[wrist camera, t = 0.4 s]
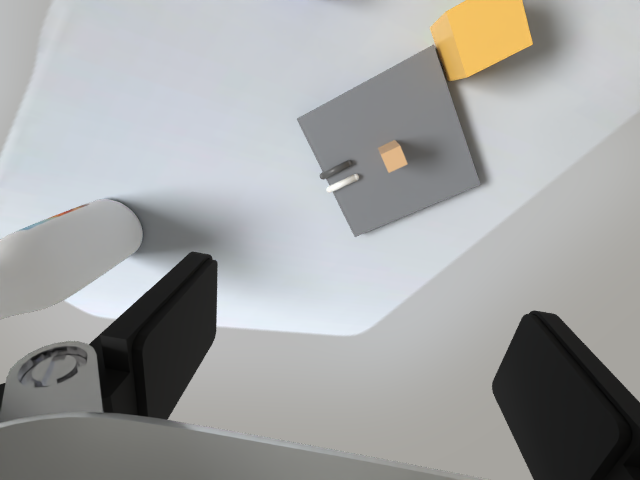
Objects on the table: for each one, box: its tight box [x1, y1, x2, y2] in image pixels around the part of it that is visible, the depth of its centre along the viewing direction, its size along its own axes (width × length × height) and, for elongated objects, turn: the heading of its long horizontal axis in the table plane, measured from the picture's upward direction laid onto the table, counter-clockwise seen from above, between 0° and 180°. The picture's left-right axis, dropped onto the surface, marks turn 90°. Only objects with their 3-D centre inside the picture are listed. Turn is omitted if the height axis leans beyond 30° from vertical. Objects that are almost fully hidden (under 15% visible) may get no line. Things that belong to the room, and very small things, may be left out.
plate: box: [297, 45, 481, 237], centre depth 32 cm, size 14×14×6 cm
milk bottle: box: [0, 199, 143, 319], centre depth 33 cm, size 8×8×20 cm
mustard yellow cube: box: [430, 0, 533, 81], centre depth 28 cm, size 5×5×6 cm
